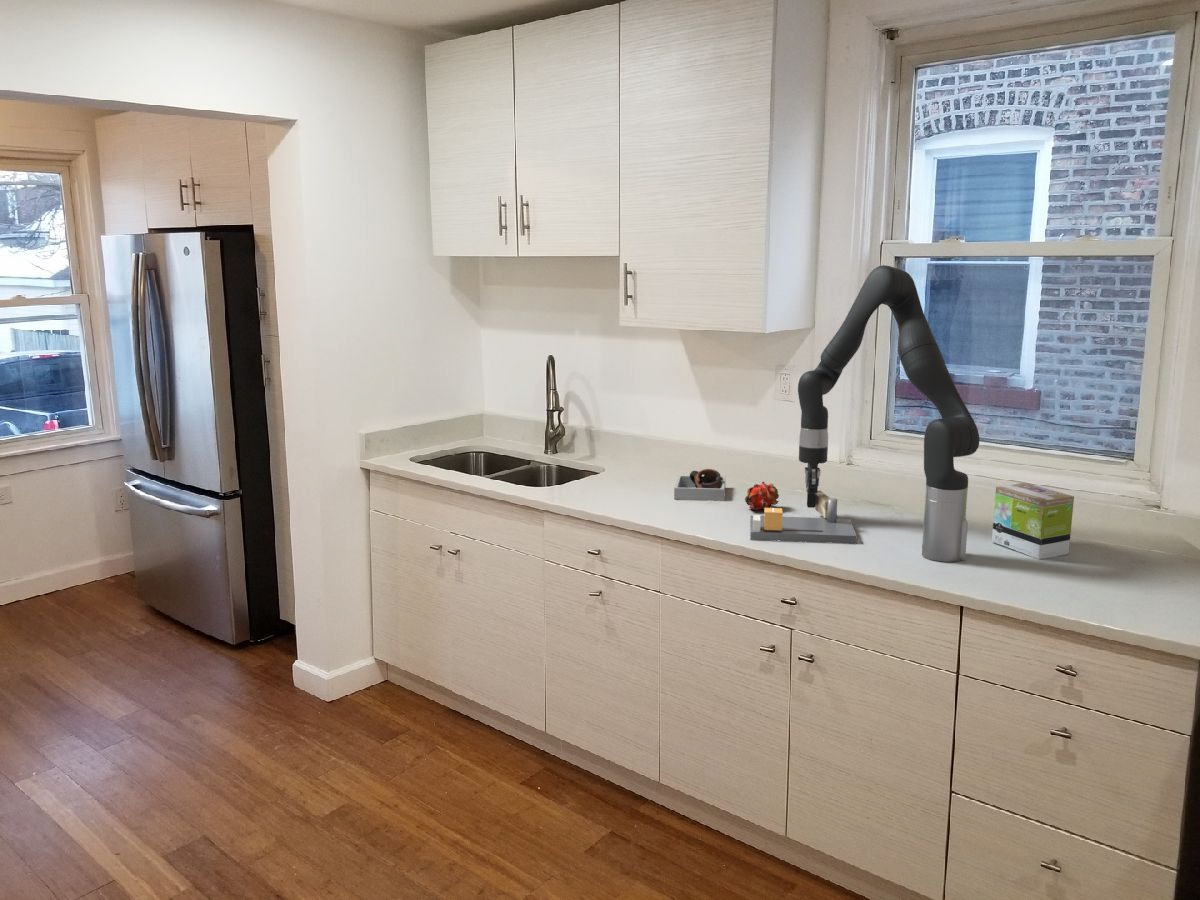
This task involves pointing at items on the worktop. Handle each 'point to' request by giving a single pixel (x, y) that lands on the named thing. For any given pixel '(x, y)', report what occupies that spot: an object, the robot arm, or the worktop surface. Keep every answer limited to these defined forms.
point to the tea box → (1032, 520)
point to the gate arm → (821, 503)
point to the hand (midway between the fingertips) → (811, 506)
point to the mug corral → (697, 490)
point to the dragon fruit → (761, 496)
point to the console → (807, 528)
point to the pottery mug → (706, 479)
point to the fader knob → (773, 518)
